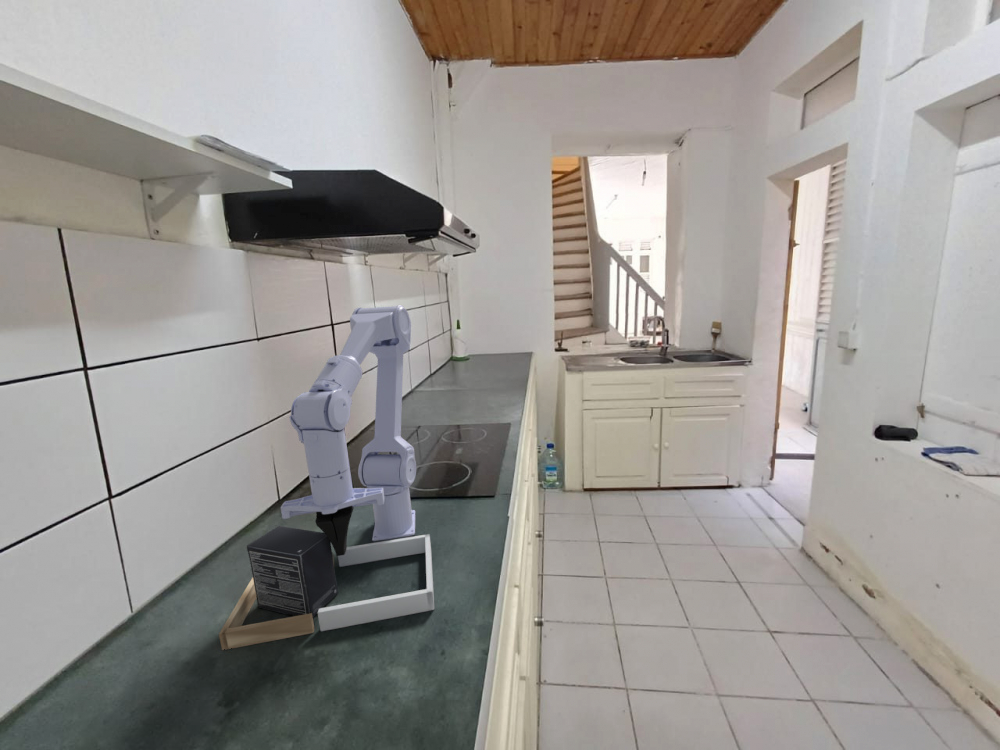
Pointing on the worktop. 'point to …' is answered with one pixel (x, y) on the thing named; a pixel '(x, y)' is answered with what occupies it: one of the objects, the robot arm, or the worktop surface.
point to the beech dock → (260, 625)
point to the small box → (293, 571)
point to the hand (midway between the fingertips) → (341, 551)
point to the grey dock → (388, 604)
